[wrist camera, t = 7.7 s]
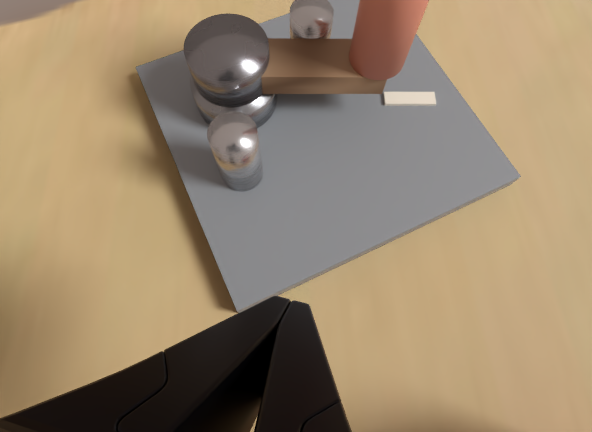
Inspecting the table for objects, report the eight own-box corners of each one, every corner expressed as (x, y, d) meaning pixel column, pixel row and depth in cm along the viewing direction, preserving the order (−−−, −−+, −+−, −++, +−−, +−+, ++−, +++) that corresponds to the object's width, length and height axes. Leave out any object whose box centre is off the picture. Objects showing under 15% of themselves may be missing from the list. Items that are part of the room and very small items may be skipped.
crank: (190, 107, 21) (117, -75, 12) (196, 44, 23) (135, -160, 14) (401, 107, 22) (481, -71, 13) (393, 45, 23) (460, -155, 14)
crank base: (239, 313, 21) (223, 299, 16) (142, 79, 26) (105, 11, 21) (509, 185, 24) (571, 137, 19) (374, -4, 29) (393, -82, 24)
